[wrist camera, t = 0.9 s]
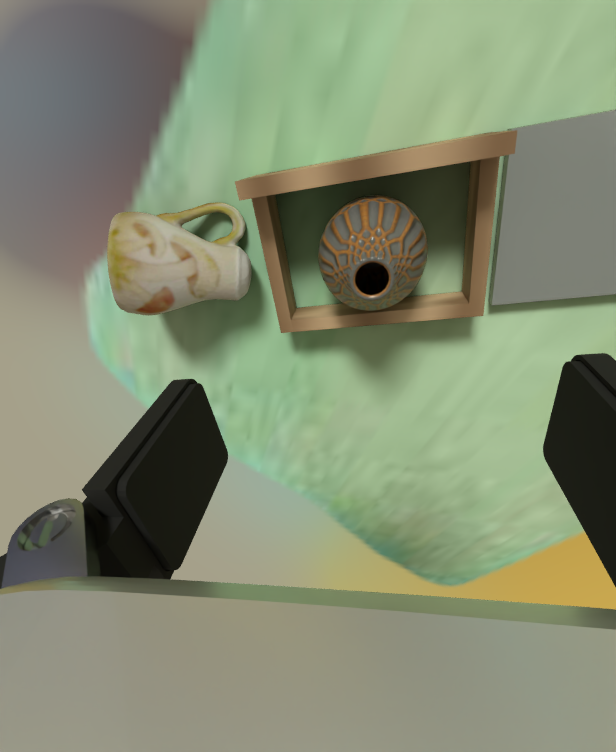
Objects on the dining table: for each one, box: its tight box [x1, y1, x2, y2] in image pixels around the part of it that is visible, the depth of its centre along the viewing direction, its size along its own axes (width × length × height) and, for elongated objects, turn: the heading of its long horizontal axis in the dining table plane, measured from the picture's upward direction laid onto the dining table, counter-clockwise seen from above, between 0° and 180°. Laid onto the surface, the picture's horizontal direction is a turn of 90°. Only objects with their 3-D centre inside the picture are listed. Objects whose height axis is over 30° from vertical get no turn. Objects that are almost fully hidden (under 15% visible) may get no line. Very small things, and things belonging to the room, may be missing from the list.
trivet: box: [489, 110, 616, 305], centre depth 23 cm, size 11×11×1 cm
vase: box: [318, 195, 428, 311], centre depth 23 cm, size 7×7×9 cm
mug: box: [107, 203, 251, 315], centre depth 27 cm, size 8×10×10 cm
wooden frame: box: [235, 130, 518, 333], centre depth 24 cm, size 15×11×5 cm
